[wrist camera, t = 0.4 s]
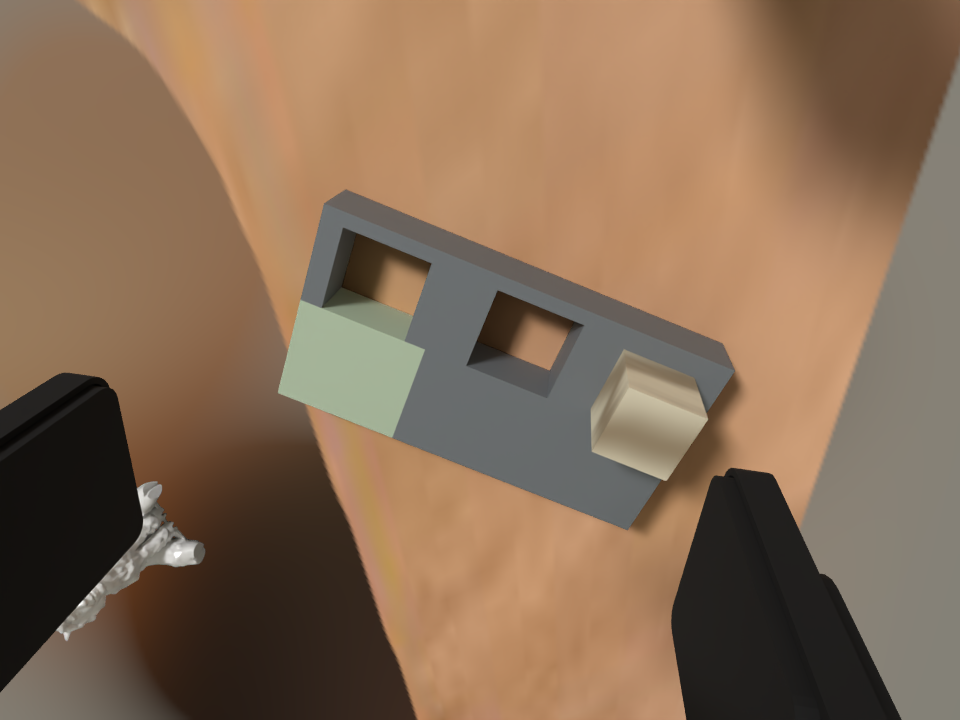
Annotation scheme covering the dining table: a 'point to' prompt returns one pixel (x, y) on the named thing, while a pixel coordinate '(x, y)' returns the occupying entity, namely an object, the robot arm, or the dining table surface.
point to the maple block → (646, 415)
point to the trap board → (478, 361)
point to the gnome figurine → (139, 558)
